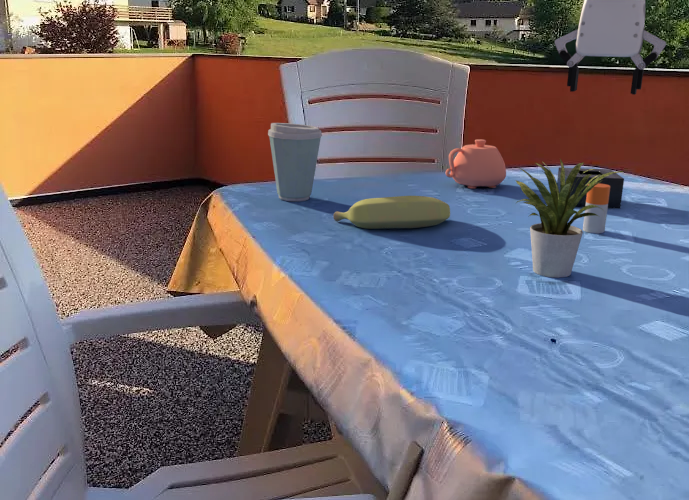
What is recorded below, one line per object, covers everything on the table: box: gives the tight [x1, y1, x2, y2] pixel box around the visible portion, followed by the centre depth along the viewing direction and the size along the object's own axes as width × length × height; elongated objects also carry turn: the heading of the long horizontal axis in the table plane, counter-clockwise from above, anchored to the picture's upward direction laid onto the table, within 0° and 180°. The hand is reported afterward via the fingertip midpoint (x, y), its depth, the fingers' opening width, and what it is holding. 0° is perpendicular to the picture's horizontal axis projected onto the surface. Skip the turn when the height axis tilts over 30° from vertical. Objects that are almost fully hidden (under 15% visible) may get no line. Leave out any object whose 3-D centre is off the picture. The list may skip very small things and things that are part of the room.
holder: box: [556, 166, 625, 210], centre depth 144 cm, size 11×11×6 cm
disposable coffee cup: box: [267, 122, 323, 203], centre depth 141 cm, size 11×11×15 cm
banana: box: [332, 195, 451, 230], centre depth 124 cm, size 14×6×20 cm
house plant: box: [514, 158, 622, 279], centre depth 98 cm, size 14×14×16 cm
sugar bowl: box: [445, 138, 507, 190], centre depth 158 cm, size 12×14×10 cm
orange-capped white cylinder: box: [582, 183, 610, 234], centre depth 121 cm, size 4×4×8 cm
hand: (602, 92), depth 119 cm, fingers open, 9 cm apart
